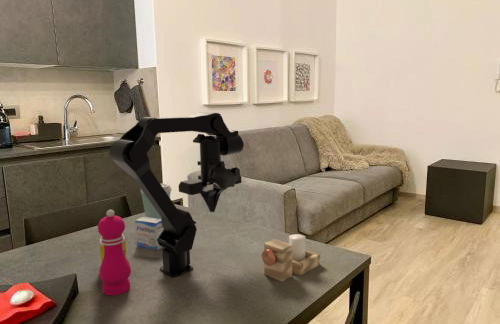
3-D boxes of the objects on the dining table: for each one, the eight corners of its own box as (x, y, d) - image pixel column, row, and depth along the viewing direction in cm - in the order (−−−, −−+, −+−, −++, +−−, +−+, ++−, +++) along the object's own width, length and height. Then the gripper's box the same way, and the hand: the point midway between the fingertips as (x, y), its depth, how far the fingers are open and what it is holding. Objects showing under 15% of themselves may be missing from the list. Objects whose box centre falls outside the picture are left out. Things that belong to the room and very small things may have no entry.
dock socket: (286, 283, 95) (286, 251, 94) (260, 272, 101) (260, 241, 100) (320, 264, 105) (320, 235, 104) (294, 255, 111) (294, 227, 110)
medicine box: (136, 247, 119) (134, 220, 117) (145, 242, 123) (143, 215, 122) (157, 250, 116) (156, 223, 115) (166, 245, 120) (164, 218, 119)
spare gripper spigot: (298, 270, 102) (298, 241, 101) (285, 265, 105) (285, 237, 104) (308, 265, 105) (308, 237, 104) (295, 260, 108) (295, 233, 107)
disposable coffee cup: (142, 221, 142) (140, 181, 139) (172, 219, 145) (170, 179, 142) (142, 231, 132) (139, 189, 129) (174, 228, 135) (172, 186, 132)
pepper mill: (122, 298, 90) (116, 215, 86) (94, 295, 91) (86, 213, 87) (137, 283, 97) (132, 206, 93) (111, 280, 98) (104, 204, 94)
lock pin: (273, 268, 95) (273, 252, 94) (261, 263, 98) (261, 248, 97) (295, 257, 101) (295, 242, 100) (283, 253, 104) (283, 238, 103)
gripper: (202, 166, 95) (204, 226, 98) (254, 156, 109) (255, 210, 111) (176, 161, 103) (178, 217, 106) (227, 152, 116) (229, 202, 119)
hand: (212, 211), depth 110 cm, fingers closed
